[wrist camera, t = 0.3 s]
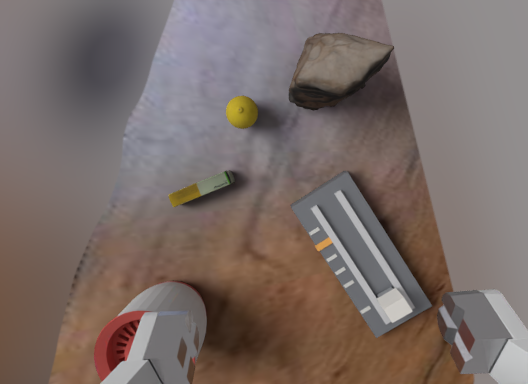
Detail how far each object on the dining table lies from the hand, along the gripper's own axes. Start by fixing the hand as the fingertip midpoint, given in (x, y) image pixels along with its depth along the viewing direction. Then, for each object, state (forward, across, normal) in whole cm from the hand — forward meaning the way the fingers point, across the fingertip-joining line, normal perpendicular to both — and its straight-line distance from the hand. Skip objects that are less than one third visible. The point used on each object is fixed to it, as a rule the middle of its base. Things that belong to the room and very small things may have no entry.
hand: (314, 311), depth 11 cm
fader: (+33, +17, -44) cm, 58 cm away
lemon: (+53, -7, -14) cm, 55 cm away
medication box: (+47, -16, -25) cm, 56 cm away
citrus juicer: (+35, -24, -47) cm, 63 cm away
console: (+40, +12, -39) cm, 57 cm away
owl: (+56, +8, -9) cm, 57 cm away
